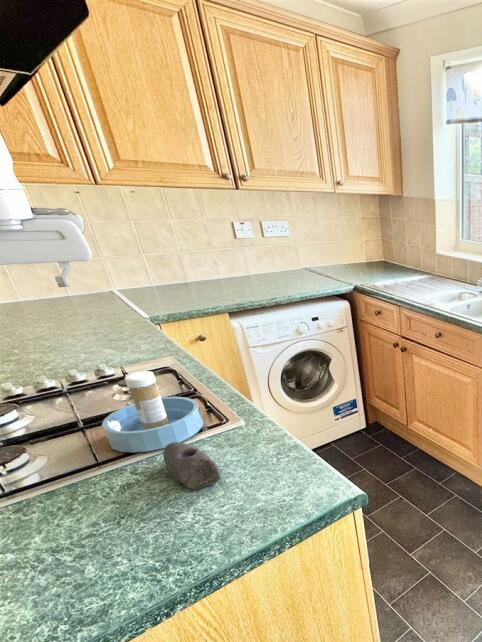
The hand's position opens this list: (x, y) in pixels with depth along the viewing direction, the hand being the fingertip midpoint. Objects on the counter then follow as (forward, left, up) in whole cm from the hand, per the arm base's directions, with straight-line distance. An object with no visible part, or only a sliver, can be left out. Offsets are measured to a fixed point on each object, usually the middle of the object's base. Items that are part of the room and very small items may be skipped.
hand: (27, 289), depth 76 cm
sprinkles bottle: (+14, -3, -30) cm, 33 cm away
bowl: (+14, -3, -31) cm, 34 cm away
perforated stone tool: (+26, -20, -31) cm, 45 cm away
